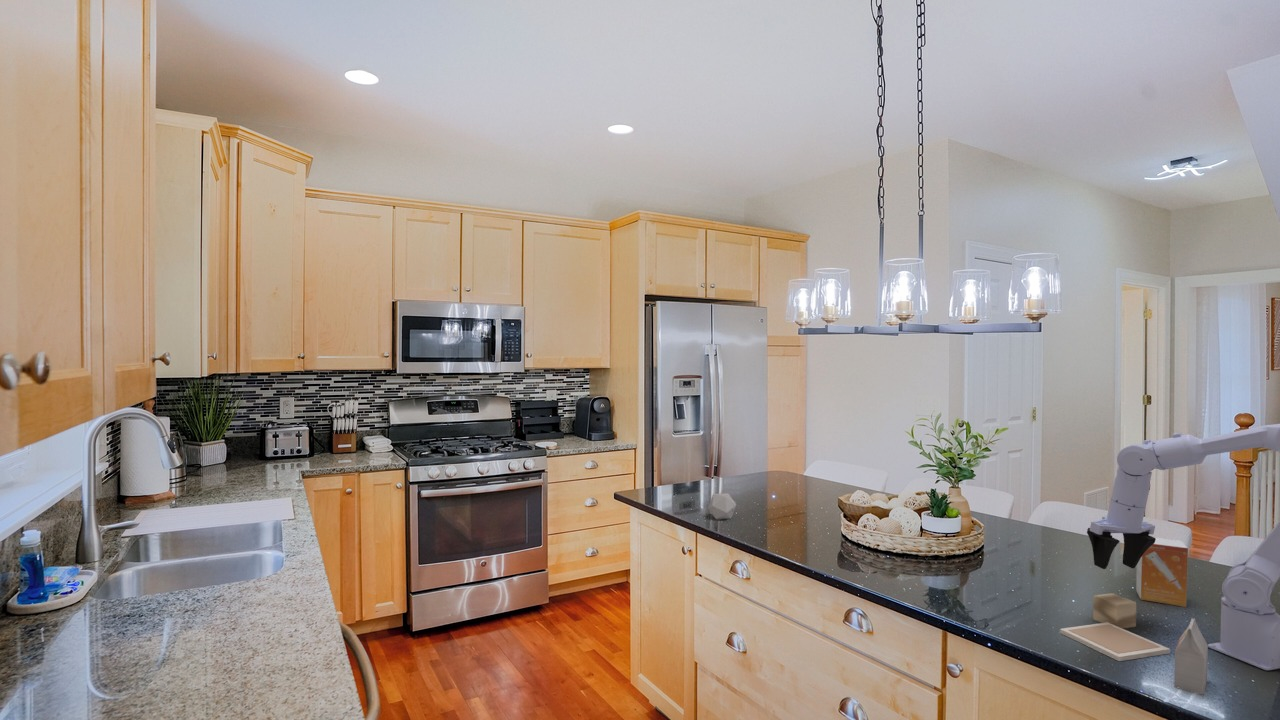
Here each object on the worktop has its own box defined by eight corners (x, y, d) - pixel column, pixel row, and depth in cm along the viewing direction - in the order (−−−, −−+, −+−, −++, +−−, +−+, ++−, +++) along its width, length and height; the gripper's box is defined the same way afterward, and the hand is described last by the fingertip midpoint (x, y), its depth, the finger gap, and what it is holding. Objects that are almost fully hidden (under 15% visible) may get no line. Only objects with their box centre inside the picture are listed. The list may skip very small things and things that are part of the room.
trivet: (1169, 653, 120) (1170, 648, 120) (1119, 661, 116) (1119, 656, 116) (1107, 626, 131) (1107, 621, 131) (1059, 632, 128) (1059, 628, 128)
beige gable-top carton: (1207, 680, 110) (1208, 621, 110) (1203, 695, 105) (1204, 633, 105) (1178, 672, 113) (1179, 614, 112) (1174, 686, 108) (1175, 626, 108)
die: (731, 524, 208) (743, 498, 211) (708, 511, 208) (720, 484, 211) (723, 527, 215) (735, 501, 219) (700, 514, 215) (712, 488, 219)
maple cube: (1135, 626, 131) (1136, 602, 131) (1116, 629, 130) (1117, 604, 130) (1111, 617, 136) (1112, 593, 136) (1093, 619, 135) (1093, 595, 135)
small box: (1140, 600, 145) (1141, 541, 144) (1135, 591, 150) (1136, 534, 150) (1187, 607, 141) (1188, 547, 140) (1180, 598, 146) (1182, 540, 146)
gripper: (1136, 496, 138) (1122, 557, 139) (1082, 495, 134) (1069, 558, 136) (1170, 508, 131) (1156, 572, 133) (1114, 508, 127) (1100, 574, 129)
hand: (1114, 566), depth 134 cm, fingers open, 7 cm apart
